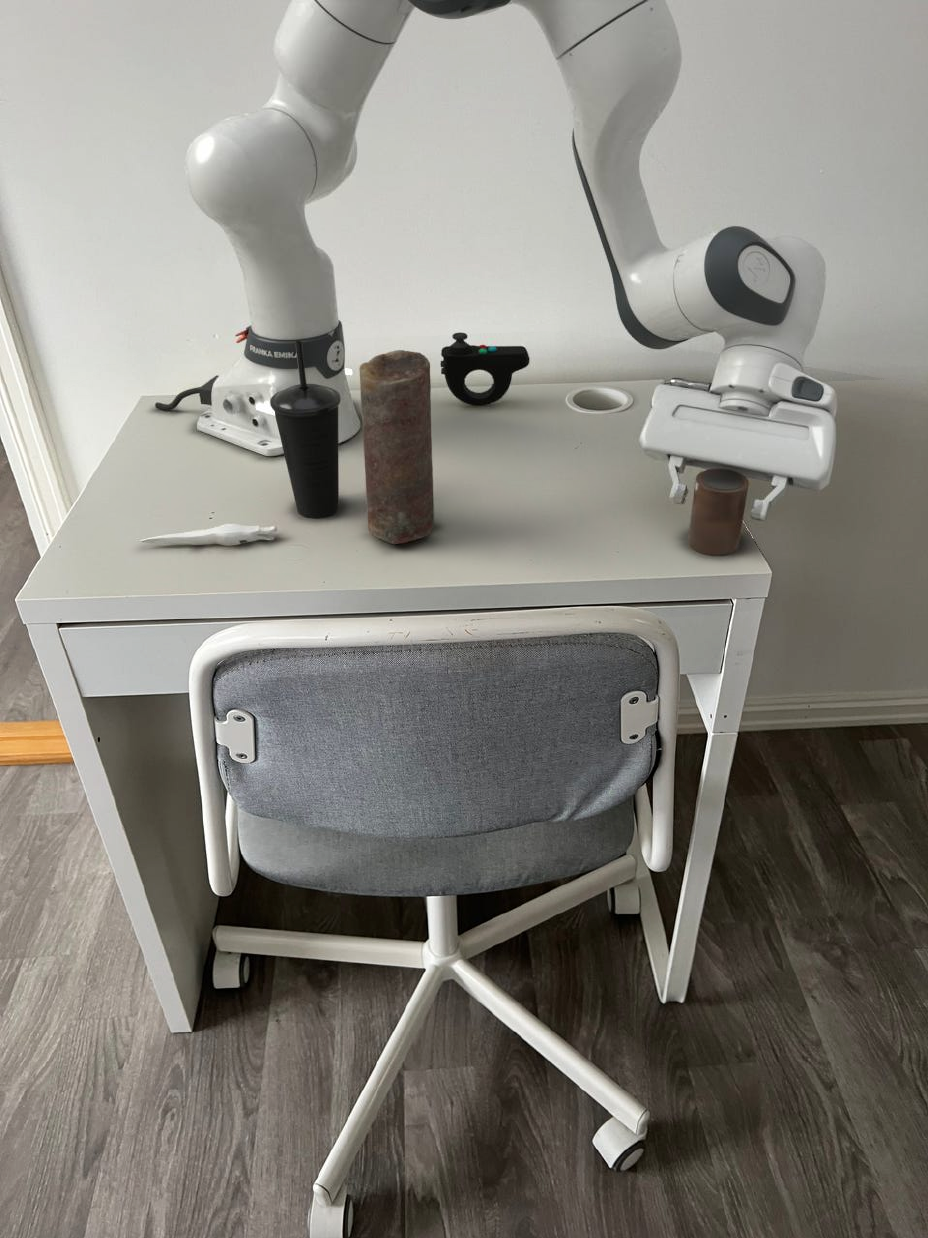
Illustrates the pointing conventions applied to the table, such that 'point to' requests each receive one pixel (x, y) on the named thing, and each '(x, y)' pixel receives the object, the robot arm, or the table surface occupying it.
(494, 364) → the controller
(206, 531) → the white toy lizard
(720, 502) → the pencil cup
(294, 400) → the drinking cup
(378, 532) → the brown stone cylinder
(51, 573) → the table surface
